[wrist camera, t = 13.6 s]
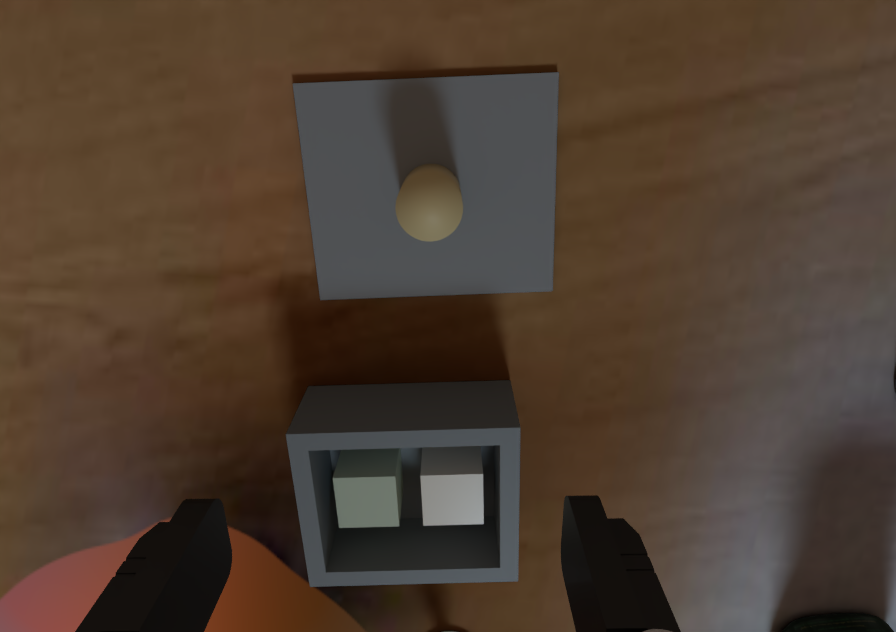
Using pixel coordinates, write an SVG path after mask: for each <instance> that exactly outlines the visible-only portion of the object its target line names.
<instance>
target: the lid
mask: <svg viewBox="0 0 896 632" xmlns="http://www.w3.org/2000/svg"><path fill="white" fill-rule="evenodd" d="M558 81H559V72H553V73H529V74H506V75H482V76H458V77H435V78H411V79H388V80H364V81H340V82H317V83H293V90H294V98H295V105H296V113H297V121H298V129H299V137H300V145H301V153H302V160H303V168H304V176H305V184H306V192H307V200H308V207H309V215H310V223H311V231H312V239H313V247H314V255H315V262H316V270H317V278H318V286H319V294H320V300H335V299H361V298H387V297H412V296H438V295H464V294H490V293H516V292H542V291H553V258H554V223H555V187H556V152H557V116H558Z"/></svg>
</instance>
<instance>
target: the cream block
mask: <svg viewBox="0 0 896 632" xmlns="http://www.w3.org/2000/svg"><path fill="white" fill-rule="evenodd" d="M420 478H421V495H422V511H423V526H433V525H470V524H484V504H483V467H482V457H481V446H457V447H422V459H421V474H420Z"/></svg>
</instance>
